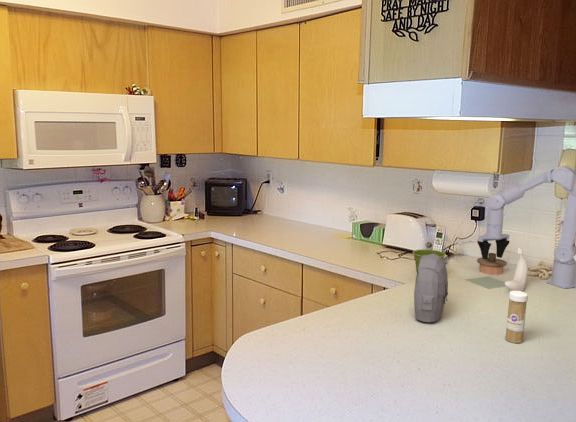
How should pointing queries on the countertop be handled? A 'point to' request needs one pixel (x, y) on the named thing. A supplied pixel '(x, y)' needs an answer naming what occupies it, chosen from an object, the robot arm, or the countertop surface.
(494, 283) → the mat
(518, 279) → the white curved piece
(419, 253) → the plant pot
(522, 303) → the sprinkles bottle
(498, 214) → the robot arm
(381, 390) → the countertop surface
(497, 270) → the bowl
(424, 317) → the soft grey pack
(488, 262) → the lid
